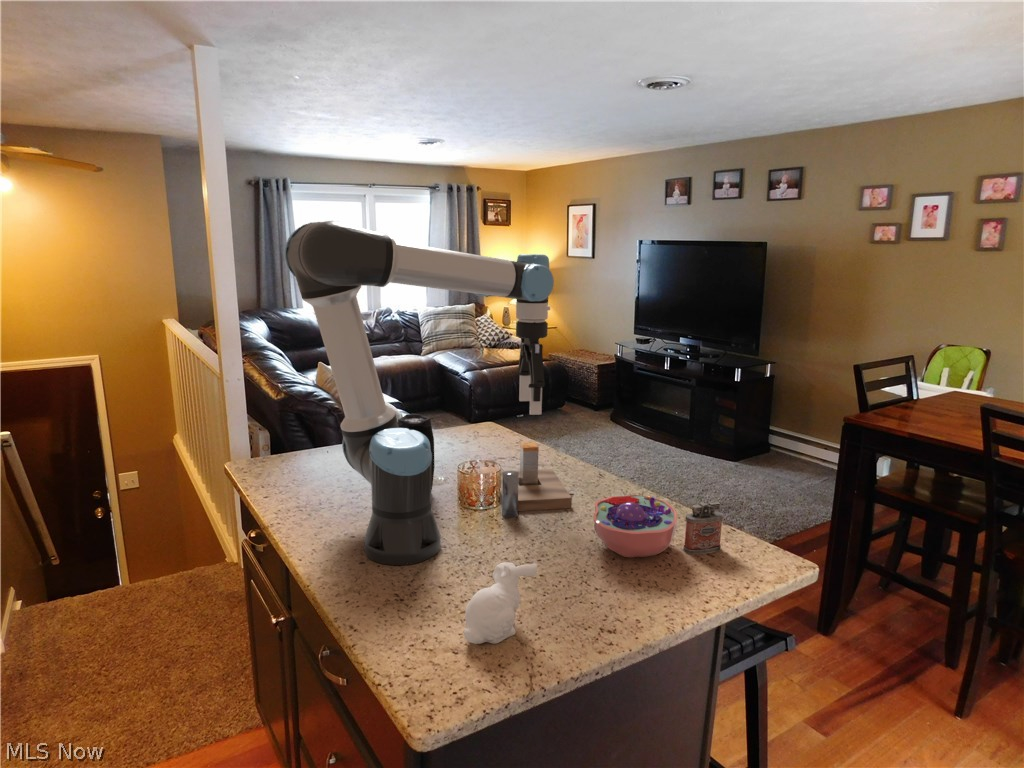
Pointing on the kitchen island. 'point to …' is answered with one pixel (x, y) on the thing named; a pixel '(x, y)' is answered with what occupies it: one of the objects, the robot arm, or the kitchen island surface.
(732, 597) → the kitchen island surface
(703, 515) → the lighter
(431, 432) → the portable speaker
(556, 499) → the socket plate
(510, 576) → the rabbit
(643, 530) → the cell model
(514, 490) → the round bit
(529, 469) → the square bit
